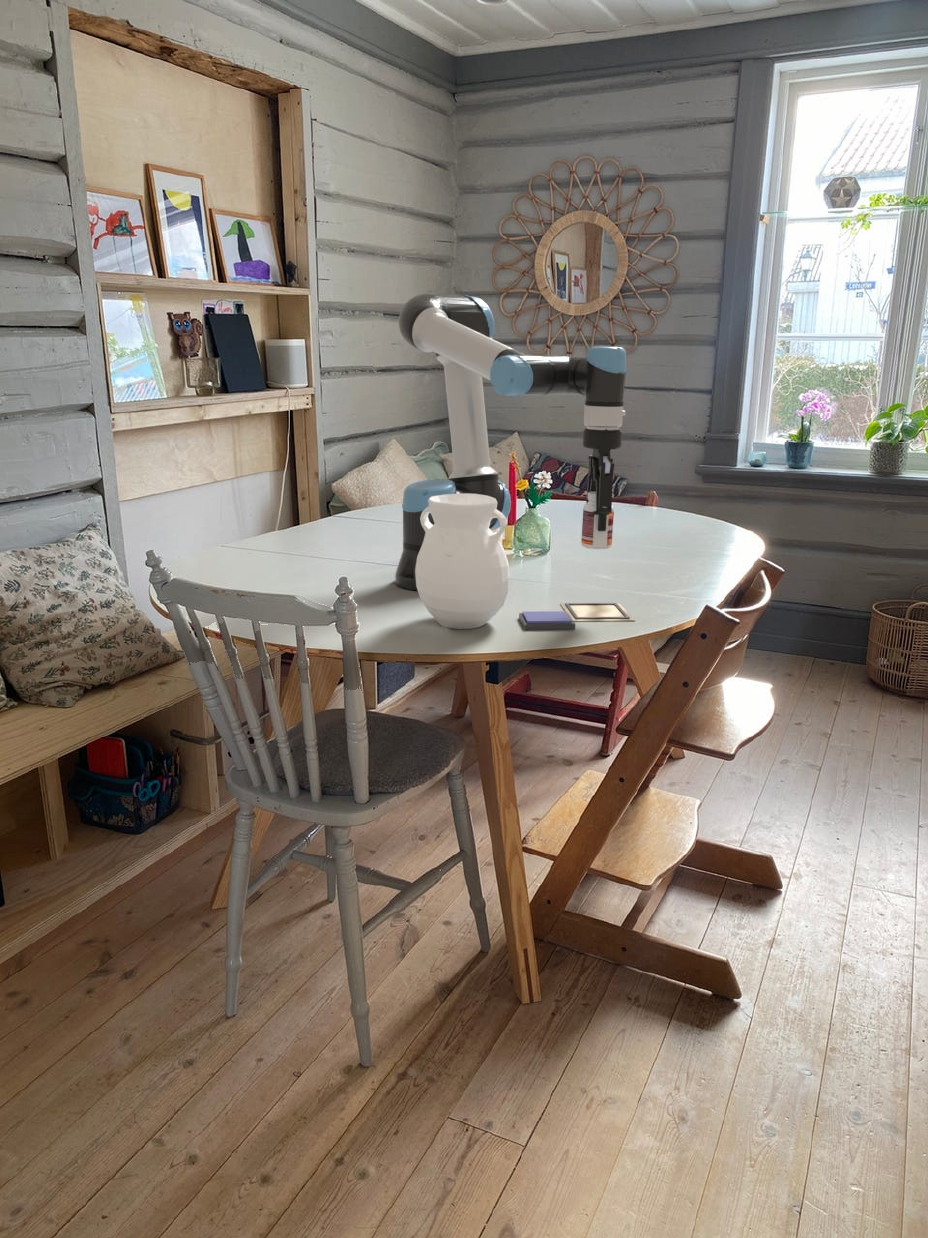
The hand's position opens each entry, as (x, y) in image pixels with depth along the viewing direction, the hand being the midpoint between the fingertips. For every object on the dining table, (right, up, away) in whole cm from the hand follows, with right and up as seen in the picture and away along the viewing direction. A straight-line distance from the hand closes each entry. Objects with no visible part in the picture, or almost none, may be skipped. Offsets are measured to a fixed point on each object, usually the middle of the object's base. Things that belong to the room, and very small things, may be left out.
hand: (596, 542), depth 193 cm
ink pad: (-11, -17, -3) cm, 20 cm away
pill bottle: (0, -1, 0) cm, 1 cm away
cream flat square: (+1, -14, +5) cm, 15 cm away
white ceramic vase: (-28, -17, -4) cm, 32 cm away
